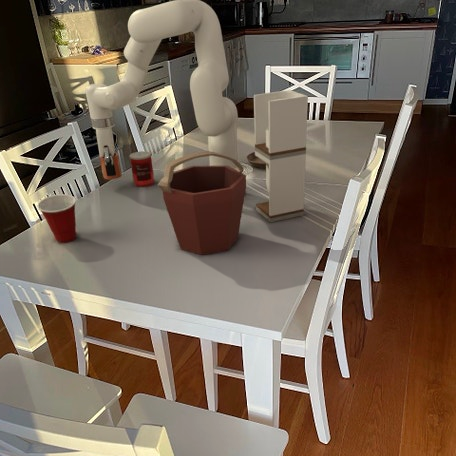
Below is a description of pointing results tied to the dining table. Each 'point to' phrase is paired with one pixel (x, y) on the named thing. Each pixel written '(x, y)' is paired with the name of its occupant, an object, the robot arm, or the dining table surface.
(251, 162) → the plant saucer
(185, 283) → the dining table surface
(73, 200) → the plastic cup
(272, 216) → the tall white stacked tower
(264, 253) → the dining table surface
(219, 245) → the bucket
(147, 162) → the canned food
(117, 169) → the pot
